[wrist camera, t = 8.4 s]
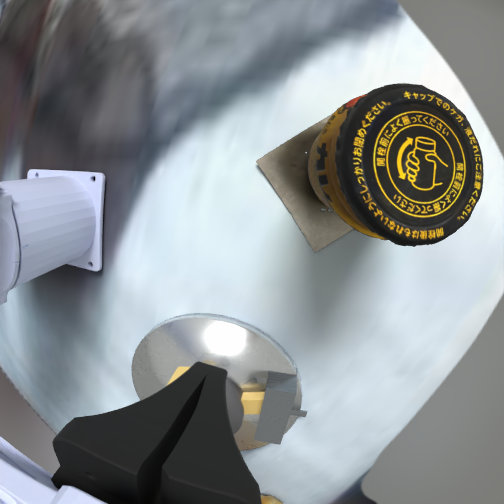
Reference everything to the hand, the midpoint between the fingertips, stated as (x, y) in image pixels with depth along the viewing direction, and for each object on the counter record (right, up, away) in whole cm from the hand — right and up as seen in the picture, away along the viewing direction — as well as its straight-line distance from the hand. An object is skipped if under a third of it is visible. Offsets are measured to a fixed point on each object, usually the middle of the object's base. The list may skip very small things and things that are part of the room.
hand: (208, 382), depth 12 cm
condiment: (+8, +11, +7) cm, 15 cm away
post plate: (-1, -6, +13) cm, 14 cm away
